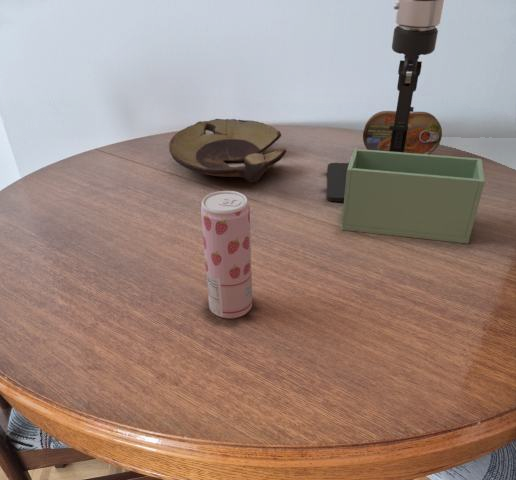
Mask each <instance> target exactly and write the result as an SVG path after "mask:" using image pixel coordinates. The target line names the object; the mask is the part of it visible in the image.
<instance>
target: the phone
mask: <svg viewBox="0 0 516 480" xmlns="http://www.w3.org/2000/svg"><path fill="white" fill-rule="evenodd" d="M348 165H349V162H330V163H328V164H327V169H326V199H327V201H330V202H340V203H341V202H343V203H344V197H345V186H346V176H347V168H348Z"/></svg>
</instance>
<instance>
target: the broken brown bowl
mask: <svg viewBox="0 0 516 480" xmlns="http://www.w3.org/2000/svg"><path fill="white" fill-rule="evenodd" d="M206 131H209V132H212V133H206ZM281 137H282V133H281V131H280V130H277V128H276V127H273V126H272V125H268V124H265V123H264V122H260V121H257V120H247V119H246V120H245V119H236V118H226V119H223V118H215V119H211V120H204V121H198V122H196V123H195V124H192V125H189V126H187V127H185V128H183V129H181V130H179V131H178V132H177V133H175V134H174V135H173V136H172V138H171V139H170V141H169V144H168V150H169V153H170V155H171V157H172V158H173V160H174V161H175V162H176V163H177V164H179V165H180V166H182V167H184V168H186V169H188V170H190V171H194V172H197V173H201V174H204V175H208V176H214V177H225V178H239V177H240V178H242V179H244V180H246V181H247V182H250V183H253V182H257V181H259V180H260V179H261V178H262V176H263V175H264V173H265V172H266V171H267V170H268V169H269V168H270V167H272V166H274V165H276V164H277V163H278V162H279V161H281V160H282V159H283V157H284V156H285V155H286V153H287V148H281V149H276V150H275V151H272V152H268V153H266V154H264V152H265V151H266V150H268V149H269V148H270V147H271V146H272V145H274V144H275V143H276V142H277V141H278V140H279V139H281ZM226 162H234V163H235V162H236V163H237V162H238V163H239V162H243V164H244V165H242V166H232V167H231V166H230V165H229V164H227V163H226Z"/></svg>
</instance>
